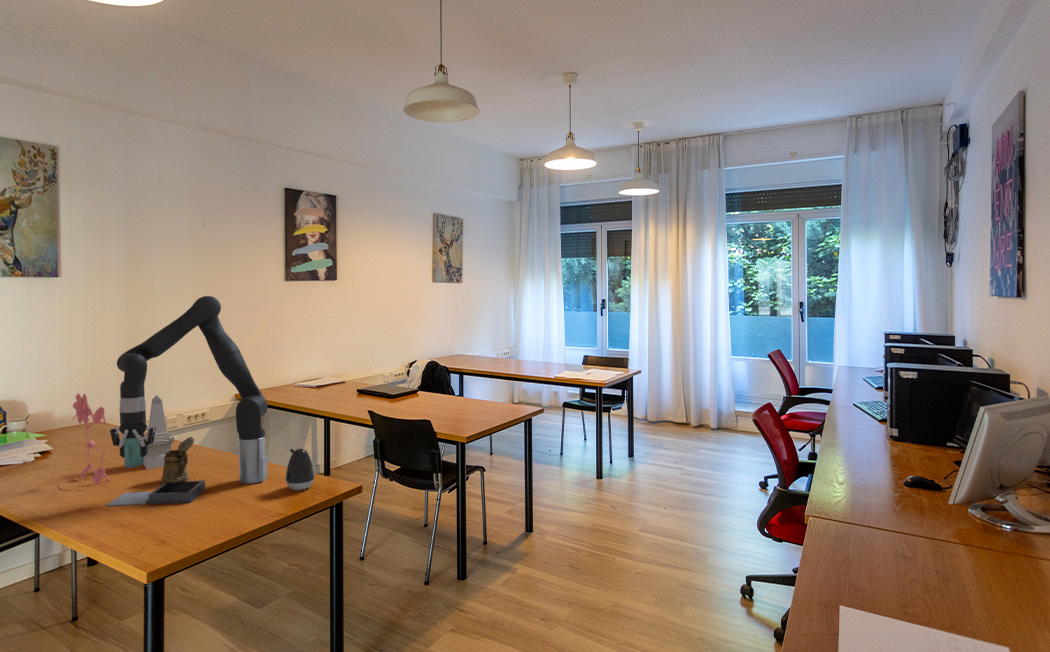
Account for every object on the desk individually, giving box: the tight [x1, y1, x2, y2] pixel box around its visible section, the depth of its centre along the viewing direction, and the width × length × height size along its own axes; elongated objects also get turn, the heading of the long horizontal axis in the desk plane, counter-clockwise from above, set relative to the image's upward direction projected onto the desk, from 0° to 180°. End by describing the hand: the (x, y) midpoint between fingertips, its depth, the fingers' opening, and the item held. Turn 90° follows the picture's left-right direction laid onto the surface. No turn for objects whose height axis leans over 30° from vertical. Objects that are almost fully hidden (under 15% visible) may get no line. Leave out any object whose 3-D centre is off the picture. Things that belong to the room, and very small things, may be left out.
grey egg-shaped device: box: [285, 448, 316, 491], centre depth 211 cm, size 10×10×15 cm
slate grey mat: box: [106, 491, 153, 507], centre depth 198 cm, size 12×12×1 cm
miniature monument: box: [143, 394, 175, 470], centre depth 238 cm, size 10×10×30 cm
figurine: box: [59, 393, 110, 492], centre depth 212 cm, size 15×26×35 cm, turn 59°
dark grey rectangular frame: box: [148, 479, 206, 506], centre depth 201 cm, size 13×13×4 cm
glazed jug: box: [123, 436, 144, 468], centre depth 197 cm, size 9×6×10 cm, turn 11°
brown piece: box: [160, 436, 195, 484], centre depth 218 cm, size 9×14×18 cm, turn 69°
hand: (133, 456), depth 198 cm, fingers closed on glazed jug, 5 cm apart
